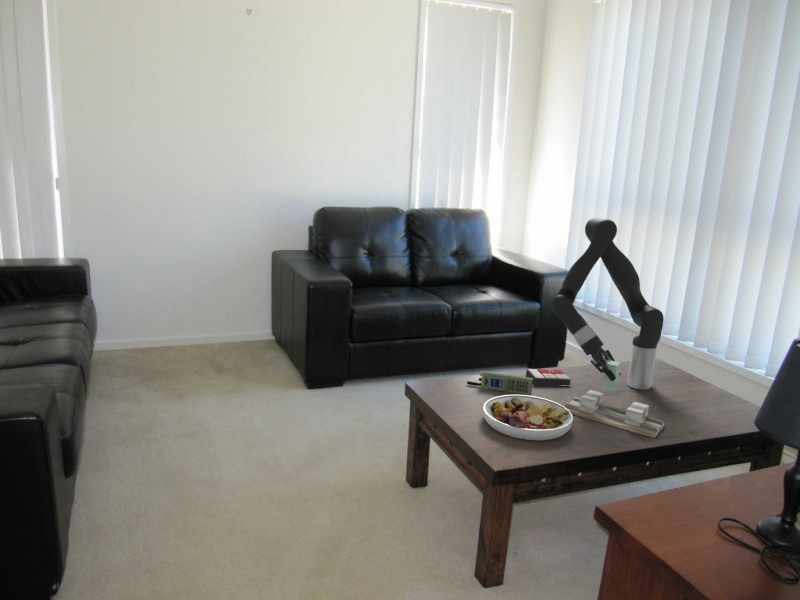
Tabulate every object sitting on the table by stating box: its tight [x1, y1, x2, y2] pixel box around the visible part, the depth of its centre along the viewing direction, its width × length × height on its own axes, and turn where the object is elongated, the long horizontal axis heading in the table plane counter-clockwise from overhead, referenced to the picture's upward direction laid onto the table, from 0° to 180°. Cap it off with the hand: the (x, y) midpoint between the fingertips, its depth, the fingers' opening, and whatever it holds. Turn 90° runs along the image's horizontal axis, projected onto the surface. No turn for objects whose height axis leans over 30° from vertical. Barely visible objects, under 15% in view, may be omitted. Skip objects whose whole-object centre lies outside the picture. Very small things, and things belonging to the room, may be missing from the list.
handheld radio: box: [466, 370, 533, 396], centre depth 245 cm, size 7×3×25 cm
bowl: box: [482, 394, 574, 441], centre depth 214 cm, size 30×30×8 cm
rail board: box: [564, 389, 665, 439], centre depth 222 cm, size 12×32×7 cm, turn 53°
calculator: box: [525, 368, 571, 387], centre depth 257 cm, size 11×4×15 cm
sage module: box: [601, 360, 622, 393], centre depth 233 cm, size 4×4×10 cm
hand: (616, 377), depth 232 cm, fingers closed on sage module, 4 cm apart
